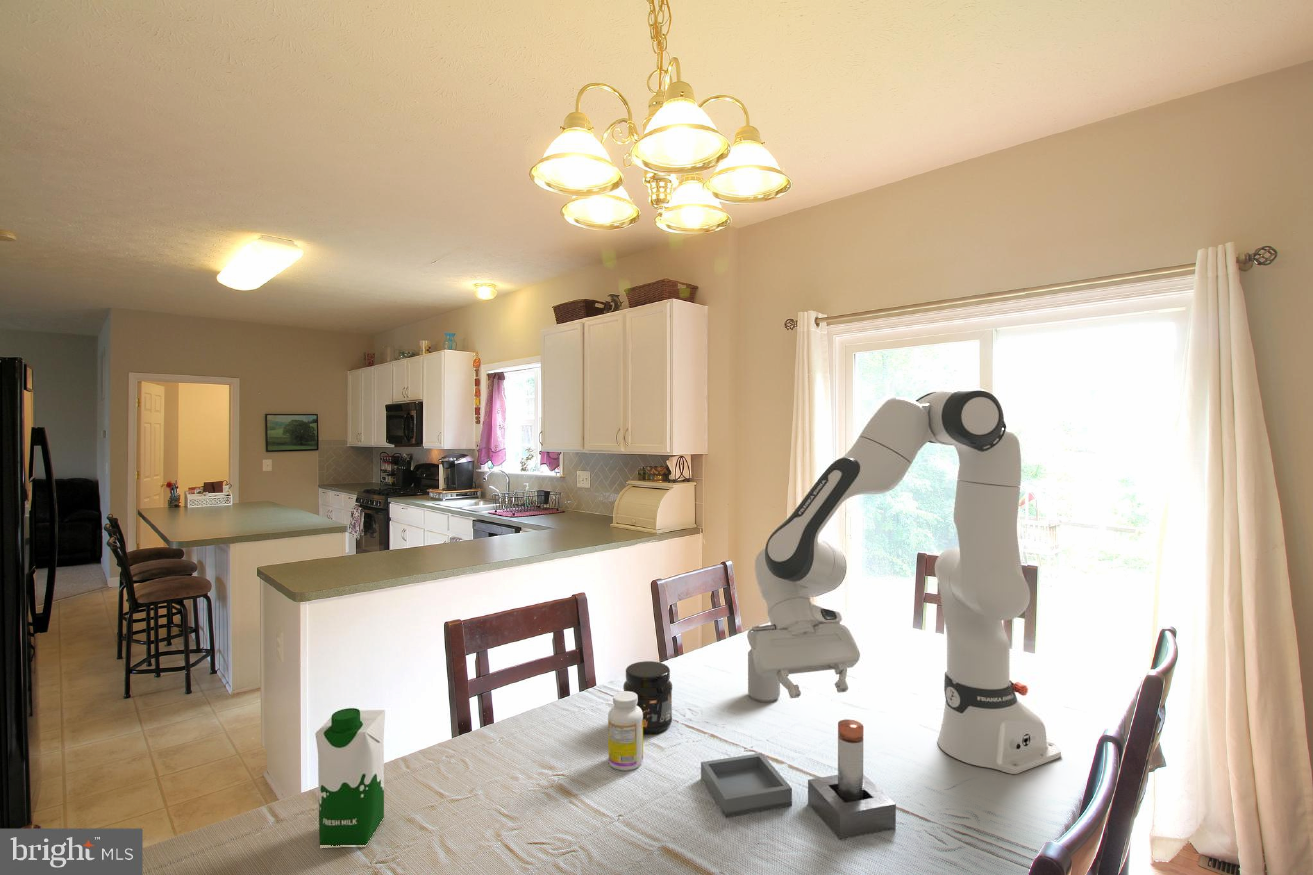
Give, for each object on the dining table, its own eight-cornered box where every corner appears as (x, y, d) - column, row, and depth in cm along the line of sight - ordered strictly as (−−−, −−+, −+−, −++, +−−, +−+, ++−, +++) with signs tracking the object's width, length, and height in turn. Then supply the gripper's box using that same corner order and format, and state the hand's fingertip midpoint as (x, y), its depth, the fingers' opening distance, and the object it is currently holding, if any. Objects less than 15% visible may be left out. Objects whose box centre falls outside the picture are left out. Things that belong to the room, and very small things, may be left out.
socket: (859, 793, 110) (859, 770, 110) (895, 828, 101) (895, 803, 101) (807, 802, 108) (807, 779, 108) (839, 839, 98) (839, 814, 98)
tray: (761, 768, 118) (761, 752, 118) (791, 805, 107) (791, 788, 107) (701, 778, 115) (700, 761, 115) (725, 817, 104) (725, 799, 104)
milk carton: (310, 853, 95) (308, 721, 95) (338, 816, 104) (337, 695, 104) (369, 851, 95) (368, 720, 95) (392, 815, 104) (391, 694, 104)
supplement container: (613, 724, 136) (613, 668, 136) (648, 708, 144) (648, 656, 144) (647, 741, 129) (647, 682, 129) (682, 724, 136) (682, 668, 136)
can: (779, 704, 146) (779, 653, 145) (747, 702, 147) (747, 650, 147) (780, 691, 153) (780, 642, 153) (748, 689, 154) (748, 640, 154)
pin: (854, 806, 107) (854, 718, 106) (868, 820, 103) (868, 729, 102) (833, 810, 105) (833, 721, 105) (846, 824, 102) (846, 732, 101)
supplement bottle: (624, 750, 125) (624, 685, 125) (650, 761, 121) (650, 694, 121) (601, 764, 120) (600, 696, 120) (626, 776, 116) (626, 706, 116)
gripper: (749, 618, 117) (772, 692, 108) (847, 611, 123) (876, 680, 113) (739, 635, 122) (760, 707, 113) (834, 626, 127) (862, 695, 118)
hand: (819, 693), depth 113 cm, fingers open, 8 cm apart
